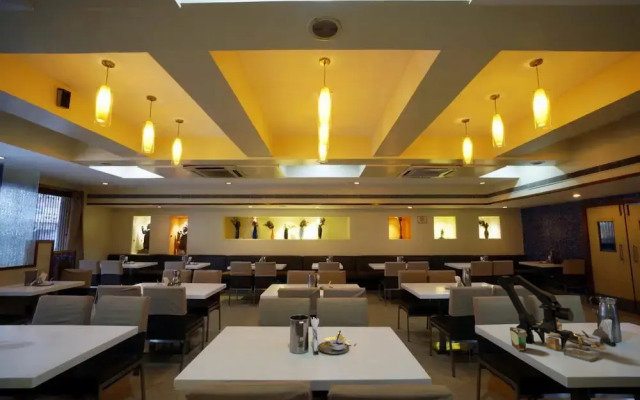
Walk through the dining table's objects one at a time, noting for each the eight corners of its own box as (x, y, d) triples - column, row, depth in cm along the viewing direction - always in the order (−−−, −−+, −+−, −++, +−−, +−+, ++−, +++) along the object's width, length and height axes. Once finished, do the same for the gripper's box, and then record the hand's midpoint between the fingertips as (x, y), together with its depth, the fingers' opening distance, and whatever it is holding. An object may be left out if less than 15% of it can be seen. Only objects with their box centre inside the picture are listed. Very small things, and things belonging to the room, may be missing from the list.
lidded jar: (566, 336, 192) (564, 320, 193) (559, 339, 186) (557, 323, 187) (546, 331, 201) (544, 317, 202) (539, 334, 195) (537, 319, 196)
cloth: (361, 347, 175) (361, 335, 175) (330, 350, 170) (330, 338, 170) (347, 335, 196) (347, 325, 197) (319, 338, 191) (319, 327, 192)
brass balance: (555, 343, 178) (554, 329, 179) (560, 341, 181) (559, 328, 182) (603, 355, 159) (601, 339, 160) (608, 353, 162) (606, 338, 163)
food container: (533, 353, 163) (531, 333, 164) (520, 352, 164) (518, 333, 165) (522, 345, 175) (521, 327, 176) (510, 345, 176) (509, 326, 177)
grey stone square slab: (563, 354, 160) (563, 352, 161) (574, 351, 166) (574, 348, 166) (589, 362, 151) (589, 359, 151) (600, 357, 156) (599, 355, 156)
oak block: (546, 348, 170) (545, 337, 171) (550, 346, 173) (549, 336, 173) (555, 350, 167) (554, 340, 167) (560, 349, 169) (559, 338, 169)
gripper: (524, 315, 176) (526, 344, 174) (562, 323, 160) (565, 354, 158) (535, 313, 181) (537, 341, 179) (572, 320, 165) (576, 351, 163)
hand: (553, 346), depth 170 cm, fingers open, 9 cm apart
